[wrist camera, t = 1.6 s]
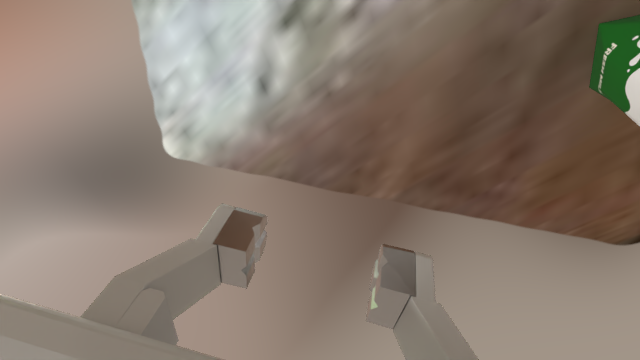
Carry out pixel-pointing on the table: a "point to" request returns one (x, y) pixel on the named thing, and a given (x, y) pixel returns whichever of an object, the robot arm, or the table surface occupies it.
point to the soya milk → (619, 64)
